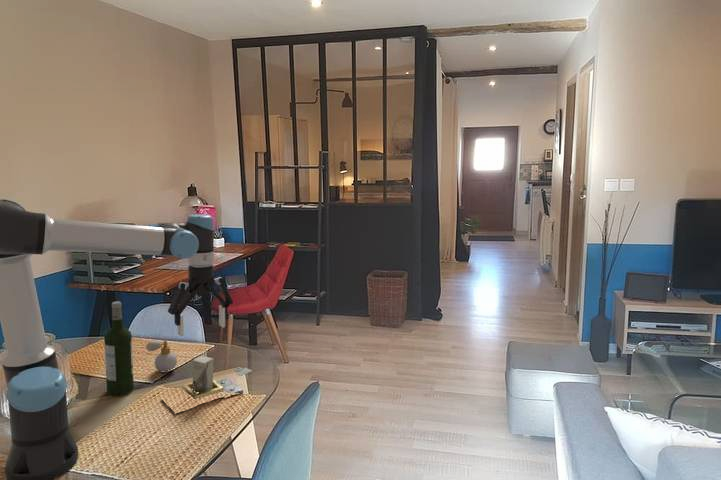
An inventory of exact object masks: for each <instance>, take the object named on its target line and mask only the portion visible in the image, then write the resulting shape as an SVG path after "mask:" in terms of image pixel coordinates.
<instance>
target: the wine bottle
mask: <svg viewBox="0 0 721 480" xmlns="http://www.w3.org/2000/svg"><path fill="white" fill-rule="evenodd" d="M111 308H112V309H111V311H112V312H111V319H112V320H111V328H110V329H109V330H108V331H107V332H106V333H105V335H104V343H103V344H104V357H105V359H104V362H105V378H106V394H107V395H109V396H111V397H122V396H125V395H128V394H130V393H131V392H133V390H134V388H135V387H134V386H135V385H134V384H135V383H134V365H133V364H134V362H133V361H134V360H133V341H132V340H133V337H132V332H131V331H130V330H129V329H128V328H126V327H124V323H123V313H122V312H123V311H122V302H121V301H119V300H118V301H113V302H112V303H111Z"/></svg>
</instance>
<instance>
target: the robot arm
mask: <svg viewBox="0 0 721 480" xmlns="http://www.w3.org/2000/svg"><path fill="white" fill-rule="evenodd" d="M214 227H215V226H214V218H213V217H212V216H211V215H209V214H199V213H198V214H190V215H188V216H187V220H186V221H183V222H161V223H160V222H156V223H148V224H147V225H136V224H135V225H134V224H124V223H112V222H110V223H109V222H96V221H88V220H87V221H85V220H74V219H72V220H71V219H70V220H69V219H62V218H61V219H60V218H52V217H50V215H48V214H47V213H44V212H43V213H41V212H33V211H28V210H26V209H25V208H24V207H23V206H22V205H21V204H19V203H17V202H15V201H14V200H9V199H1V198H0V325H1V330H2V336H3V339H4V343H5V349H6V352H7V353H6V354H5V356H4V357H3V358H2V360H1V364H2V369H3V373H4V378H5V383H6V389H7V390H6V399H7V403H8V415H9V426H10V437H11V445H10V448H9V452H8V455H7V457H6V461H5V464H4V474H5V475H4V476H5V478H6V480H54V479H55V478H58V477H60V476H62V475H64V474H65V473H67V472H68V471H69V470H71V469H72V468H73V467H74V466H75V465H76V463H77V462H78V460H79V448H78V445H77V443H76V441H75V439H74V438H73V435H72V434H71V431H70V429H69V418H68V417H69V416H68V403H67V402H68V401H67V400H68V399H67V388H68V387H67V380H66V378H65V374H64V373H63V372H62V370H60V367H59V362H58V357H57V353H56V348H55V347H54V346H52V345H50V344H48V342H47V339H46V338H47V337H46V334H45V328H44V322H43V317H42V313H41V307H40V302H39V298H38V293H37V288H36V283H35V279H34V278H35V277H34V273H33V268H32V263H31V262H32V261H31V257H32V256H33V255H45V254H46V253H48V252H50V251H52V252H76V253H77V252H79V253H97V254H98V253H100V254H103V253H104V254H120V255H121V254H127V255H147V256H148V255H150V256H163V257H166V256H167V257H175V258H177V259H182V260H186V259H188V260H187V261H188V262H187V264H188V265H189V266H188V267H187V269H188V281H187V282H183V281H179V282H178V283H177V290H176V291H175V294H174V296H173V299H172V300H171V302H170V305H169V307H168V309H167V312H168V313H169V314H171V315H172V316H173V315H174V325H175V326H176V327H177V334H178V335H179V336H180V337H184V334H185V332H184V330H185V329H184V315H183V314H182V313H183V312H184V310H185V309H186V308H187V306H188V305H189V304H190V302H191V301H192V300H193V298H195V297H196V295H197V296H201V295H208V293H209V294H211V295H212V297H214V299H216V300H217V302H218V303H219V304H220V305H218V325H219V326H220V327H221V328H225V327H226V317H227V316H228V308H230V305H233V303H234V301H233V298H232V296H231V295H230V293H229V291H228V289H227V287H226V286H225V281H224V280H225V279H224V278H223V277H220V276H217V277H216V278H214V276H215V266H214V263H215V262H214V261H215V251H214V250H215V249H214V247H215V245H214V238H215V237H214V235H215V234H214V233H215V228H214ZM215 284H216V285H217V286H218V288H219V291H220V292H221V294H222V296H223V297H222V296H221V295H220V294H219V293H218V292H217V291H216V289H214V285H215ZM187 288H189V289H188V290H187V292H186V294H185V295H184V293H185V291H186V289H187ZM183 296H184V297H183ZM77 459H78V460H77ZM76 461H77V462H76ZM74 464H75V465H74ZM73 465H74V466H73ZM72 466H73V467H72Z"/></svg>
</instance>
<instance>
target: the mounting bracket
mask: <svg viewBox="0 0 721 480" xmlns="http://www.w3.org/2000/svg"><path fill="white" fill-rule="evenodd" d="M234 372H235V375H237V376H239V377H242V376H245V375H247V374H249V373H252V372H253V370H252V369H250V368H248V367H243V368H241V367H235V368H234Z"/></svg>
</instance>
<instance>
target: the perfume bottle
mask: <svg viewBox="0 0 721 480" xmlns="http://www.w3.org/2000/svg"><path fill="white" fill-rule="evenodd" d="M145 347H146V350H147V351H149V352H155V351H157V350H159V349H160V348H161V349H160V350H161V351H160V353H158V354H157V355H156V357H155V358H154V366H155V368H156V369H155V370H157V371H158V370H159V371H158V372H160V371H168V370H171V369H173V368H174V369H175V367H176V366H177V363H178V359H177V356H176V354H175V353H173V352H172V351H171V349H170V345H168V341H167V340H166V339H164V340H163V342H161V341H158V340H150V341H148V342H147V343H146V345H145ZM174 369H173V370H174ZM171 371H172V370H171Z"/></svg>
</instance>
